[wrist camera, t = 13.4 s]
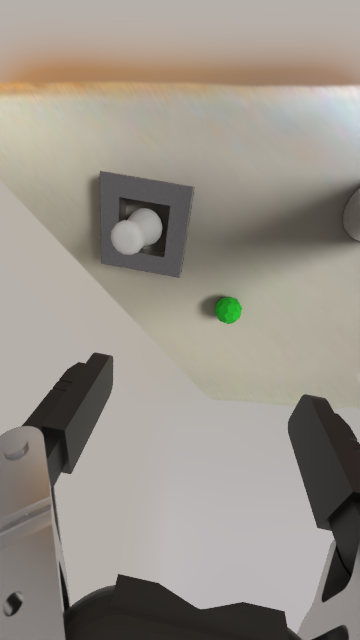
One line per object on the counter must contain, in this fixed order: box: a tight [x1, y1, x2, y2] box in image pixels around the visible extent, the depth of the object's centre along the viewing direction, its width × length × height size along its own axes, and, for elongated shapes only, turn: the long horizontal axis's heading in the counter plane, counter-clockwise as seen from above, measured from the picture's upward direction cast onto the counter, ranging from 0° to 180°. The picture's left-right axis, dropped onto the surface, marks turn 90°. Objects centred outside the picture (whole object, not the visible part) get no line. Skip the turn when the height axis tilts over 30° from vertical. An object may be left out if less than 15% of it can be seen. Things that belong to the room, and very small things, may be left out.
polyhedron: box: [215, 297, 242, 324], centre depth 45 cm, size 5×5×5 cm
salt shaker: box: [111, 208, 162, 255], centre depth 36 cm, size 6×6×13 cm
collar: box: [100, 171, 194, 277], centre depth 40 cm, size 14×14×4 cm
